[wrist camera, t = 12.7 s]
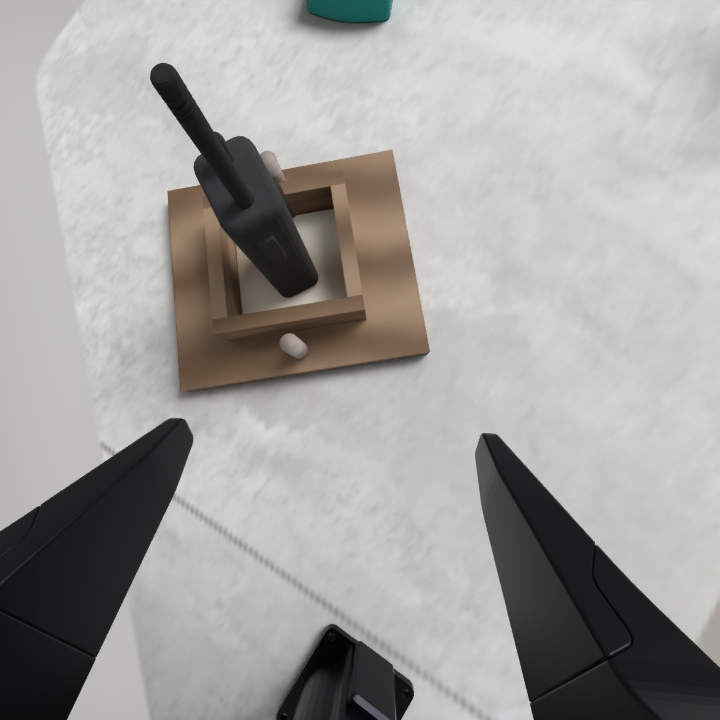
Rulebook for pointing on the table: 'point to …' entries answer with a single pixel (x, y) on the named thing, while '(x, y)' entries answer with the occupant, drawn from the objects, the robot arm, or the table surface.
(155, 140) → the table surface
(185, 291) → the wooden frame board
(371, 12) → the digital multimeter
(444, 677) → the table surface
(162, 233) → the table surface
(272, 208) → the walkie-talkie
